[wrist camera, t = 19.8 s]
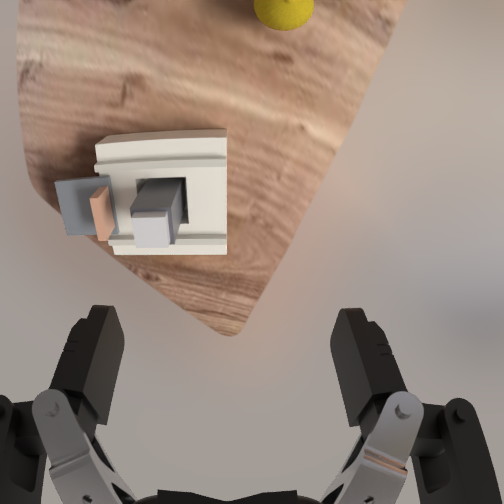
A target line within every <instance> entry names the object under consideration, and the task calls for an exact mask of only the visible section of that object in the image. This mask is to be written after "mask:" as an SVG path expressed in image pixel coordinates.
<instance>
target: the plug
mask: <svg viewBox="0 0 504 504" xmlns="http://www.w3.org/2000/svg"><path fill="white" fill-rule="evenodd" d="M185 205H186V201H185V184H184V177H166V178H148V179H147V181H146V182H145V184H144V185H143V187H142V189H141V190H140V192H139V194H138V195H137V197H136V199H135V200H134V202H133V204H132V205H131V207H130V214H131V222H132V228H133V234H134V239H135V245H136V248H168V247H169V244H175V242H176V238H177V234H178V230H179V227H180V223H181V219H182V216H183V212H184V208H185Z"/></svg>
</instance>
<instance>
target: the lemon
mask: <svg viewBox="0 0 504 504" xmlns="http://www.w3.org/2000/svg"><path fill="white" fill-rule="evenodd" d="M313 8H314V2H313V0H254V11H255V13H256V16H257V17H258V18H259V20H260V21H261V22H262V23H263V24H265V25H266V26H268V27H270V28H272V29H275V30H281V31H288V30H294V29H296V28H298V27H301V26H302V25H303V24H305V23H306V22H307V21H308V20H309V18H310V17H311V15H312V12H313Z"/></svg>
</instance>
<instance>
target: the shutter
mask: <svg viewBox="0 0 504 504" xmlns="http://www.w3.org/2000/svg"><path fill="white" fill-rule="evenodd" d="M54 183H55V187H56V192H57V196H58V201H59V205H60V209H61V213H62V217H63V221H64V225H65V229H66V233H67V235H97V236H98V240H99V241H107V240H108V238H109V236H110V235H111V234H119V232H120V231H119V226H118V221H117V215H116V210H115V204H114V198H113V192H112V185H111V178H110V175H108V176H95V177H83V178H72V179H62V180H56V181H55V182H54Z"/></svg>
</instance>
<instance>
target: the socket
mask: <svg viewBox="0 0 504 504" xmlns="http://www.w3.org/2000/svg"><path fill="white" fill-rule="evenodd" d="M95 148H96V156H97V163H96V164H95V165H94V169H95V172H99V176H108V175H110V178H111V185H112V192H113V198H114V204H115V210H116V215H117V221H118V226H119V231H120V232H119V234H111V235H110V237H109V239H108V243H109V246H113V250H114V254H115V255H227V129H205V130H174V131H156V132H141V133H129V134H118V135H108V136H106V137H105V138H104V139H102V140H101V141H100V142H98V143H97V144H95ZM166 177H184V184H185V201H186V205H185V208H184V212H183V216H182V219H181V223H180V227H179V230H178V234H177V238H176V242H175V244H169V247H168V248H136V245H135V239H134V234H133V228H132V222H131V214H130V207H131V205H132V204H133V202H134V200H135V199H136V197H137V195H138V194H139V192H140V190H141V189H142V187H143V185H144V184H145V182H146V181H147V179H148V178H166Z"/></svg>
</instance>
